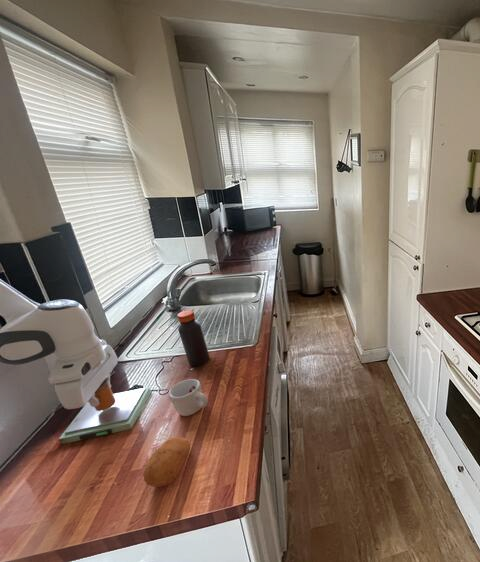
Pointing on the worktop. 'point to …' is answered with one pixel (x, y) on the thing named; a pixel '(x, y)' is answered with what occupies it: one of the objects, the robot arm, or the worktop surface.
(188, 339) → the bottle
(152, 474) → the potato
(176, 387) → the cup
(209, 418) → the worktop surface
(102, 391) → the spice jar
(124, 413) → the scale
